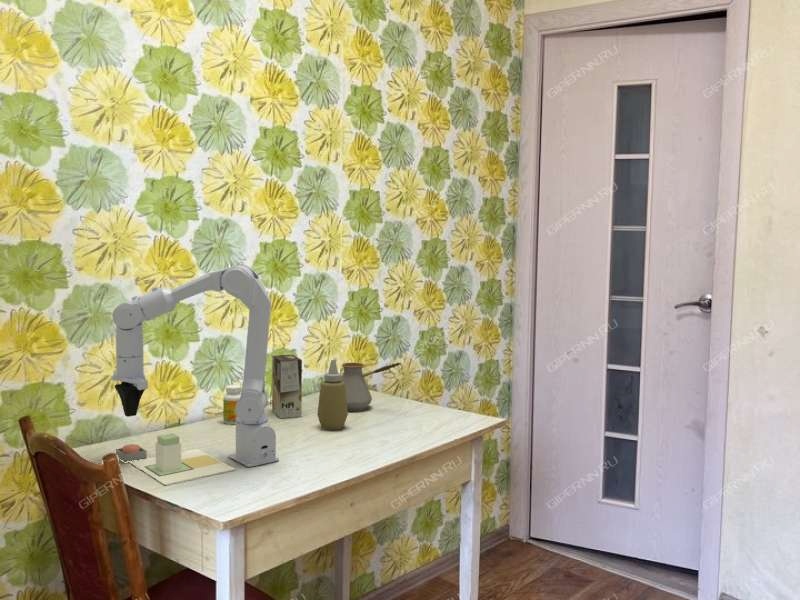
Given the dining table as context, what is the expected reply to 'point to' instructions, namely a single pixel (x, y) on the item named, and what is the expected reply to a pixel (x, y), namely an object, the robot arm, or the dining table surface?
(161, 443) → the beige boxy piece
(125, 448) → the button
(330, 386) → the squeeze bottle
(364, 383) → the coffee pot
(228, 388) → the supplement bottle
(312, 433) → the dining table surface
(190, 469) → the paper board
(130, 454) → the button housing
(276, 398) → the coffee box
